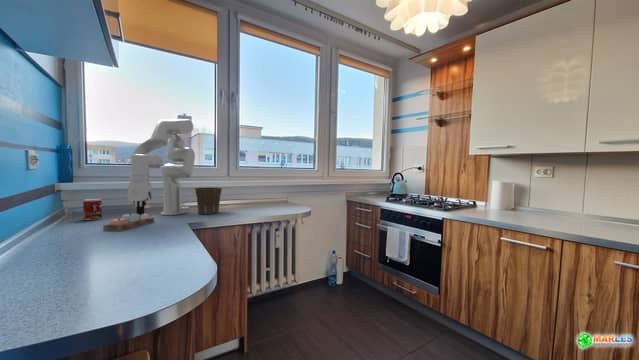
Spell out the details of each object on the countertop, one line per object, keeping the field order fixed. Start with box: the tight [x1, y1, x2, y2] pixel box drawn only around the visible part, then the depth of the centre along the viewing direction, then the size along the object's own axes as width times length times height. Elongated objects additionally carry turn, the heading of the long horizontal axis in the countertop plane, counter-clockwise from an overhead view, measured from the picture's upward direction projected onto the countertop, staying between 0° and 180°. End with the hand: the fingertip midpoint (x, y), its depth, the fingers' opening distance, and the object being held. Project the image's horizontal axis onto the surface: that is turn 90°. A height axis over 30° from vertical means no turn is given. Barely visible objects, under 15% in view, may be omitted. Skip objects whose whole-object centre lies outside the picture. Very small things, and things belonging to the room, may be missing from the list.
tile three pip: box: [109, 217, 128, 225], centre depth 120 cm, size 5×5×4 cm
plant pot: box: [194, 187, 223, 215], centre depth 166 cm, size 16×16×16 cm
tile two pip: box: [121, 213, 139, 222], centre depth 126 cm, size 5×5×4 cm
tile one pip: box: [139, 213, 149, 220], centre depth 133 cm, size 5×5×4 cm
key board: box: [102, 216, 155, 232], centre depth 126 cm, size 20×8×2 cm, turn 174°
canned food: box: [82, 198, 103, 220], centre depth 141 cm, size 8×8×11 cm
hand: (140, 214), depth 132 cm, fingers closed
